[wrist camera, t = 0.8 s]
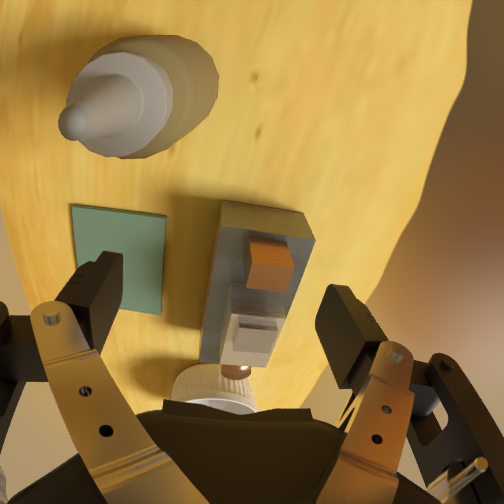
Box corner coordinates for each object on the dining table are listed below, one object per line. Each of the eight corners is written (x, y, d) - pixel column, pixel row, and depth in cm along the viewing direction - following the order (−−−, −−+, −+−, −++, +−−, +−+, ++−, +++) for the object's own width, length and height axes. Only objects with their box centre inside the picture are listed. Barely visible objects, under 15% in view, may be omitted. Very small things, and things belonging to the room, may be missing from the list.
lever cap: (230, 281, 28) (232, 322, 24) (279, 287, 29) (287, 327, 25) (219, 333, 32) (219, 372, 28) (262, 337, 33) (266, 375, 28)
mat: (74, 204, 28) (71, 206, 27) (166, 215, 29) (165, 218, 29) (85, 299, 35) (83, 302, 34) (161, 311, 36) (160, 315, 36)
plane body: (221, 199, 29) (220, 250, 22) (303, 213, 30) (326, 265, 23) (200, 330, 39) (197, 387, 31) (261, 336, 40) (268, 392, 33)
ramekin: (249, 352, 42) (253, 394, 36) (259, 397, 49) (263, 432, 43) (158, 360, 42) (152, 400, 36) (184, 403, 49) (182, 437, 44)
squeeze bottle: (213, 30, 20) (183, -37, 5) (227, 120, 25) (224, 216, 10) (119, 52, 20) (-32, 61, 5) (136, 137, 25) (27, 252, 10)
